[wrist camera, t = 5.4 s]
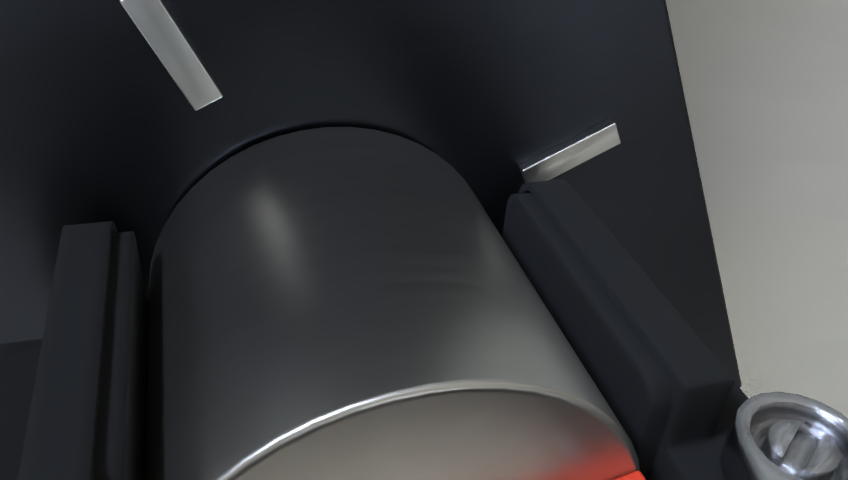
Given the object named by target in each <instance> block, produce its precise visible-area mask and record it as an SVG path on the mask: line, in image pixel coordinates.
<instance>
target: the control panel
mask: <svg viewBox="0 0 848 480" xmlns="http://www.w3.org/2000/svg"><path fill="white" fill-rule="evenodd" d="M323 127H356V128H364V129H373V130H378V131H382V132H386V133H390V134H394V135H398V136H401V137H403V138H406V139H408V140H411V141H413V142H416V143H418V144H420V145H422V146H424V147H425V148H427V149H429V150H431V151H432V152H434V153H436V154H437V155H439V156H440V157H441V158H442V159H444V160H445V161H446V162H447V163H449V164H450V165H451V166H452V167H453V168H454V169H455V170H456V171H457V172H458V173H459V174H460V175H461V176H462V177H463V178H464V179H465V181H466V182H467V184H468V185H469V187H470V188H471V190H472V191H473V193H474V194H475V196H476V197H477V199H478V200H479V202H480V204H481V205H482V207H483V208H484V210H485V212H486V213H487V215H488V216H489V218H490V219H491V221H492V223H493V224H494V226H495V227H496V229H497V230H498V232H499V234H500V235H501V237H502V235H503V228H504V221H505V214H506V207H507V202H508V199H509V197H510V196H511V195H512V194H519V190H520V188H521V186H522V185H523V184H524V183H527V182H538V181H548V180H559V179H563V180H566V181H567V182H569V183H570V184H571V186H572V187H573V188H574V189H575V190H576V192H577V193H578V194H579V195H580V196H581V197H582V199H583V200H584V201H585V202H586V203H587V205H588V206H589V207H590V208H591V209H592V210H593V212H594V213H595V214H596V215H597V216H598V218H599V219H600V220H601V221H602V222H603V224H604V225H605V226H606V227H607V228H608V229H609V231H610V232H611V233H612V234H613V235H614V237H615V238H616V239H617V240H618V241H619V243H620V244H621V245H622V246H623V247H624V248H625V250H626V251H627V252H628V253H629V254H630V256H631V257H632V258H633V259H634V260H635V262H636V263H637V264H638V265H639V266H640V267H641V269H642V270H643V271H644V272H645V273H646V275H647V276H648V277H649V278H650V279H651V281H652V282H653V283H654V284H655V285H656V286H657V288H658V289H659V290H660V291H661V292H662V294H663V295H664V296H665V297H666V298H667V299H668V301H669V302H670V303H671V304H672V305H673V307H674V308H675V309H676V310H677V311H678V313H679V314H680V315H681V316H682V317H683V318H684V320H685V321H686V322H687V323H688V324H689V326H690V327H691V328H692V329H693V330H694V332H695V333H696V334H697V335H698V336H699V337H700V339H701V340H702V341H703V342H704V343H705V345H706V346H707V347H708V348H709V349H710V351H711V352H712V353H713V354H714V355H715V356H716V358H717V359H718V360H719V361H720V362H721V364H722V365H723V366H724V367H725V368H726V370H727V371H728V372H729V373H730V374H731V375H732V377H733V378H734V379H735V383H736V384H737V386H738V387H739V388H740V387H741V380H740V375H739V370H738V365H737V360H736V355H735V350H734V345H733V340H732V335H731V329H730V324H729V319H728V314H727V309H726V304H725V299H724V294H723V289H722V284H721V279H720V274H719V269H718V264H717V259H716V254H715V249H714V243H713V238H712V233H711V228H710V223H709V218H708V213H707V208H706V203H705V198H704V193H703V188H702V183H701V178H700V173H699V168H698V163H697V158H696V152H695V147H694V142H693V137H692V132H691V127H690V122H689V117H688V112H687V107H686V102H685V97H684V92H683V87H682V82H681V77H680V72H679V66H678V61H677V56H676V51H675V46H674V41H673V36H672V31H671V26H670V21H669V16H668V11H667V6H666V1H665V0H0V345H1V344H5V343H12V342H20V341H28V340H36V339H43V333H44V328H45V322H46V316H47V311H48V305H49V299H50V294H51V288H52V283H53V277H54V271H55V266H56V260H57V254H58V249H59V243H60V237H61V232H62V228H63V226H65V225H76V224H87V223H98V222H108V221H113V222H114V223H115V226H116V229H117V233H119V232H129V231H133V232H134V234H135V237H136V242H137V248H138V253H139V259H140V264H141V270H142V275H143V281H144V286H145V292H146V297H147V303H148V308H149V278H150V266H151V261H152V257H153V253H154V249H155V245H156V243H157V240H158V238H159V236H160V234H161V231H162V229H163V227H164V224H165V223H166V221H167V220H168V218H169V217H170V215H171V213H172V212H173V210H174V209H175V207H176V206H177V204H178V203H179V202H180V201H181V200H182V199H183V197H184V196H185V195H186V194H187V193H188V192H189V190H190V189H191V188H192V187H193V186H194V185H195V184H197V183H198V182H199V181H200V180H201V179H202V178H203V177H204V176H206V175H207V174H208V173H209V172H210V171H211V170H213V169H214V168H216V167H217V166H218V165H220V164H221V163H223V162H224V161H226V160H227V159H229V158H230V157H232V156H234V155H236V154H238V153H239V152H241V151H243V150H245V149H247V148H249V147H251V146H253V145H255V144H258V143H261V142H263V141H266V140H269V139H271V138H274V137H277V136H280V135H284V134H288V133H292V132H296V131H301V130H307V129H315V128H323Z"/></svg>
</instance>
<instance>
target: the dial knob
mask: <svg viewBox="0 0 848 480" xmlns="http://www.w3.org/2000/svg"><path fill="white" fill-rule="evenodd" d="M146 480H646V479H645V477H644V476H643V474H642V473H641V472H640V467H639V460H638V457H637V454H636V451H635V449H634V446H633V444H632V441H631V440H630V438H629V436H628V435H627V433H626V432H625V430H624V429H623V427H622V425H621V424H620V422H619V421H618V419H617V418H616V416H615V414H614V413H613V411H612V410H611V408H610V407H609V405H608V403H607V402H606V400H605V399H604V397H603V396H602V394H601V392H600V391H599V389H598V388H597V386H596V385H595V383H594V381H593V380H592V378H591V377H590V375H589V373H588V372H587V370H586V369H585V367H584V366H583V364H582V362H581V361H580V359H579V358H578V356H577V355H576V353H575V351H574V350H573V348H572V347H571V345H570V344H569V342H568V340H567V339H566V337H565V336H564V334H563V333H562V331H561V329H560V328H559V326H558V325H557V323H556V322H555V320H554V318H553V317H552V315H551V314H550V312H549V311H548V309H547V307H546V306H545V304H544V303H543V301H542V300H541V298H540V296H539V295H538V293H537V292H536V290H535V289H534V287H533V285H532V284H531V282H530V281H529V279H528V278H527V276H526V274H525V273H524V271H523V270H522V268H521V267H520V265H519V263H518V262H517V260H516V259H515V257H514V256H513V254H512V252H511V251H510V249H509V248H508V246H507V245H506V243H505V241H504V240H503V238H502V237H501V235H500V234H499V232H498V230H497V229H496V227H495V226H494V224H493V223H492V221H491V219H490V218H489V216H488V215H487V213H486V212H485V210H484V208H483V207H482V205H481V204H480V202H479V200H478V199H477V197H476V196H475V194H474V193H473V191H472V190H471V188H470V187H469V185H468V184H467V182H466V181H465V179H464V178H463V177H462V176H461V175H460V174H459V173H458V172H457V171H456V170H455V169H454V168H453V167H452V166H451V165H450V164H449V163H447V162H446V161H445V160H444V159H442V158H441V157H440V156H439V155H437V154H436V153H434V152H432V151H431V150H429V149H427V148H425V147H424V146H422V145H420V144H418V143H416V142H413V141H411V140H408V139H406V138H403V137H401V136H398V135H394V134H390V133H386V132H382V131H378V130H373V129H364V128H356V127H323V128H315V129H307V130H301V131H296V132H292V133H288V134H284V135H280V136H277V137H274V138H271V139H269V140H266V141H263V142H261V143H258V144H255V145H253V146H251V147H249V148H247V149H245V150H243V151H241V152H239V153H238V154H236V155H234V156H232V157H230V158H229V159H227V160H226V161H224V162H223V163H221V164H220V165H218V166H217V167H216V168H214V169H213V170H211V171H210V172H209V173H208V174H207V175H206V176H204V177H203V178H202V179H201V180H200V181H199V182H198V183H197V184H195V185H194V186H193V187H192V188H191V189H190V190H189V192H188V193H187V194H186V195H185V196H184V197H183V199H182V200H181V201H180V202H179V203H178V204H177V206H176V207H175V209H174V210H173V212H172V213H171V215H170V217H169V218H168V220H167V221H166V223H165V224H164V227H163V229H162V231H161V234H160V236H159V238H158V240H157V243H156V245H155V249H154V253H153V257H152V261H151V266H150V278H149V323H148V397H147V472H146Z"/></svg>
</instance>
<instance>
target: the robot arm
mask: <svg viewBox="0 0 848 480" xmlns="http://www.w3.org/2000/svg"><path fill="white" fill-rule="evenodd" d="M502 238H503V240H504V241H505V243H506V245H507V246H508V248H509V249H510V251H511V252H512V254H513V256H514V257H515V259H516V260H517V262H518V263H519V265H520V267H521V268H522V270H523V271H524V273H525V274H526V276H527V278H528V279H529V281H530V282H531V284H532V285H533V287H534V289H535V290H536V292H537V293H538V295H539V296H540V298H541V300H542V301H543V303H544V304H545V306H546V307H547V309H548V311H549V312H550V314H551V315H552V317H553V318H554V320H555V322H556V323H557V325H558V326H559V328H560V329H561V331H562V333H563V334H564V336H565V337H566V339H567V340H568V342H569V344H570V345H571V347H572V348H573V350H574V351H575V353H576V355H577V356H578V358H579V359H580V361H581V362H582V364H583V366H584V367H585V369H586V370H587V372H588V373H589V375H590V377H591V378H592V380H593V381H594V383H595V385H596V386H597V388H598V389H599V391H600V392H601V394H602V396H603V397H604V399H605V400H606V402H607V403H608V405H609V407H610V408H611V410H612V411H613V413H614V414H615V416H616V418H617V419H618V421H619V422H620V424H621V425H622V427H623V429H624V430H625V432H626V433H627V435H628V436H629V438H630V440H631V441H632V444H633V446H634V449H635V451H636V454H637V457H638V460H639V467H640V472H641V473H642V474H643V476H644V477H645V479H646V480H848V418H847V417H845V416H844V415H843V414H842V413H840V412H838V411H836V410H835V409H833V408H831V407H829V406H827V405H825V404H823V403H822V402H819V401H817V400H814V399H811V398H808V397H805V396H802V395H798V394H791V393H784V392H771V393H760V394H758V395H756V396H754V397H751V398H749V399H748V398H747V396H746V395H745V394H744V393H743V392H742V390H741V389H740V388H739V387H738V386H737V384H736V383H735V379H734V378H733V377H732V375H731V374H730V373H729V372H728V371H727V370H726V368H725V367H724V366H723V365H722V364H721V362H720V361H719V360H718V359H717V358H716V356H715V355H714V354H713V353H712V352H711V351H710V349H709V348H708V347H707V346H706V345H705V343H704V342H703V341H702V340H701V339H700V337H699V336H698V335H697V334H696V333H695V332H694V330H693V329H692V328H691V327H690V326H689V324H688V323H687V322H686V321H685V320H684V318H683V317H682V316H681V315H680V314H679V313H678V311H677V310H676V309H675V308H674V307H673V305H672V304H671V303H670V302H669V301H668V299H667V298H666V297H665V296H664V295H663V294H662V292H661V291H660V290H659V289H658V288H657V286H656V285H655V284H654V283H653V282H652V281H651V279H650V278H649V277H648V276H647V275H646V273H645V272H644V271H643V270H642V269H641V267H640V266H639V265H638V264H637V263H636V262H635V260H634V259H633V258H632V257H631V256H630V254H629V253H628V252H627V251H626V250H625V248H624V247H623V246H622V245H621V244H620V243H619V241H618V240H617V239H616V238H615V237H614V235H613V234H612V233H611V232H610V231H609V229H608V228H607V227H606V226H605V225H604V224H603V222H602V221H601V220H600V219H599V218H598V216H597V215H596V214H595V213H594V212H593V210H592V209H591V208H590V207H589V206H588V205H587V203H586V202H585V201H584V200H583V199H582V197H581V196H580V195H579V194H578V193H577V192H576V190H575V189H574V188H573V187H572V186H571V184H570V183H569V182H567V181H566V180H563V179H559V180H548V181H538V182H527V183H524V184H523V185H522V186H521V188H520V190H519V194H512V195H511V196H510V197H509V199H508V202H507V207H506V214H505V221H504V228H503V235H502ZM148 323H149V308H148V303H147V297H146V292H145V286H144V281H143V275H142V270H141V264H140V259H139V253H138V248H137V242H136V237H135V234H134V232H133V231H129V232H119V233H117V229H116V226H115V223H114V222H113V221H108V222H98V223H87V224H76V225H65V226H63V228H62V232H61V237H60V243H59V249H58V254H57V260H56V266H55V271H54V277H53V283H52V288H51V294H50V299H49V305H48V311H47V316H46V322H45V328H44V333H43V339H36V340H28V341H20V342H12V343H5V344H1V345H0V480H146V472H147V397H148Z"/></svg>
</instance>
